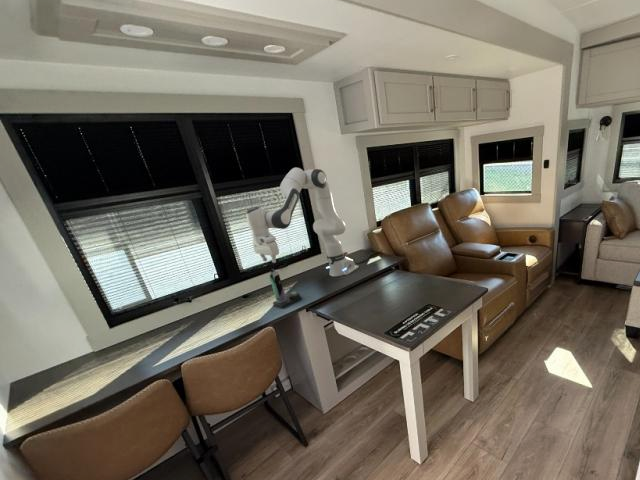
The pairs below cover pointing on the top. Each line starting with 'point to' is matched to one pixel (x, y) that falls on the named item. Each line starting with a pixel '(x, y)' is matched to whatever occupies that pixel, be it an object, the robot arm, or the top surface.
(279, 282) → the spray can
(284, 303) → the scale
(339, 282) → the top surface
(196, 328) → the top surface
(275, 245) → the robot arm
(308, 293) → the top surface
